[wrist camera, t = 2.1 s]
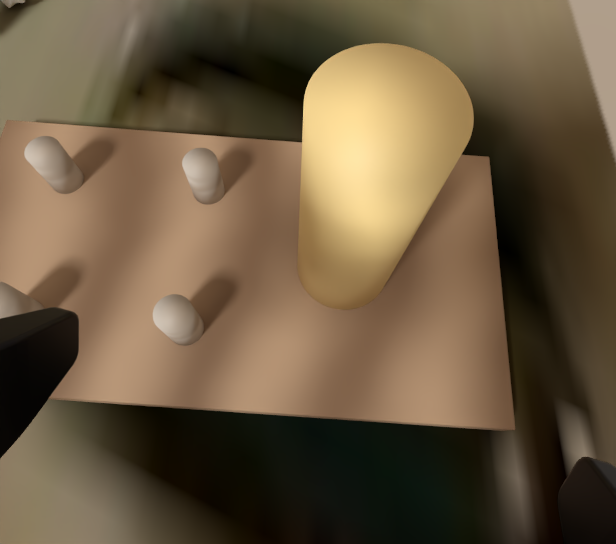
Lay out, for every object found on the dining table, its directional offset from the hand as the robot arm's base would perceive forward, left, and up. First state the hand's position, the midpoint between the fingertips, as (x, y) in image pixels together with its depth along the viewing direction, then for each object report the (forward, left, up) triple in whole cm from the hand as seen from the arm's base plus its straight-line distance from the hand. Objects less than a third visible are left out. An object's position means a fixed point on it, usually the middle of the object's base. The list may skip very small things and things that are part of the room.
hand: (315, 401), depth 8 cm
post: (+4, +7, -12) cm, 14 cm away
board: (-1, +8, -13) cm, 16 cm away
